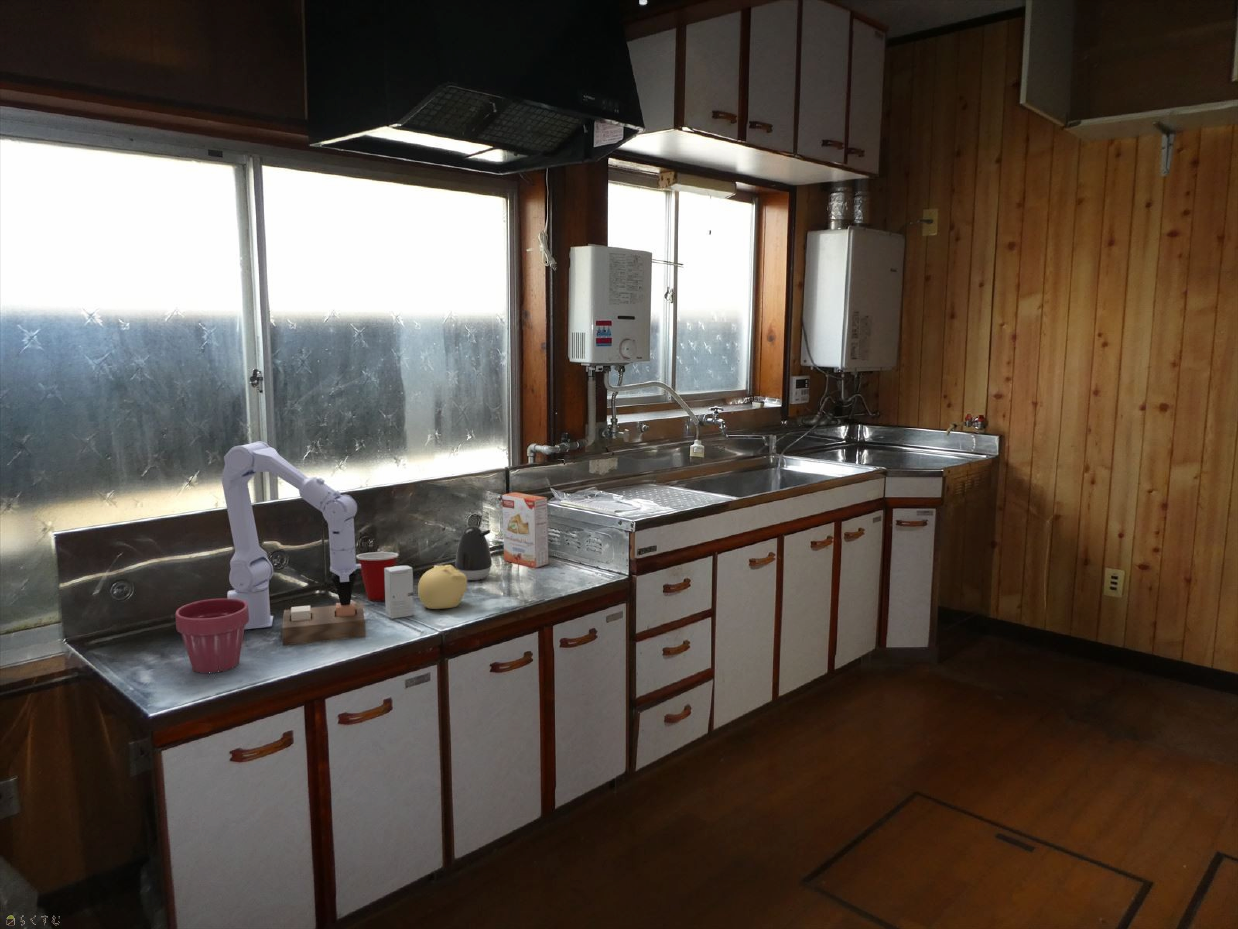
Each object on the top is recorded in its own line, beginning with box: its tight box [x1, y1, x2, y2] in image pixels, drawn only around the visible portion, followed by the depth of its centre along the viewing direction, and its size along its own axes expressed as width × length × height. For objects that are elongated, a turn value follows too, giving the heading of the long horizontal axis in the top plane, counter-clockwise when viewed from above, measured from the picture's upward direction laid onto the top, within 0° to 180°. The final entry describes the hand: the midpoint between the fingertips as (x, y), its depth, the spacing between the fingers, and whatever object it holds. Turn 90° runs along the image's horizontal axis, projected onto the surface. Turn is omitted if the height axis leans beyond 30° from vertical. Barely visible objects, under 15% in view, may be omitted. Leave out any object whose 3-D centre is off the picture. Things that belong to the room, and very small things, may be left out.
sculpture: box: [417, 564, 468, 610], centre depth 235 cm, size 11×12×11 cm
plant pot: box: [175, 598, 249, 674], centre depth 194 cm, size 14×14×13 cm
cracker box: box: [501, 492, 549, 569], centre depth 277 cm, size 14×6×21 cm, turn 50°
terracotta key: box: [335, 601, 356, 617], centre depth 217 cm, size 4×4×4 cm
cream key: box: [290, 605, 311, 621], centre depth 214 cm, size 4×4×4 cm
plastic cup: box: [355, 551, 399, 602], centre depth 242 cm, size 11×11×12 cm
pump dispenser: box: [455, 525, 493, 581], centre depth 261 cm, size 10×10×15 cm
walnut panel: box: [281, 602, 366, 646], centre depth 216 cm, size 18×14×4 cm
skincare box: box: [384, 564, 415, 620], centre depth 228 cm, size 6×4×12 cm
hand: (345, 604), depth 217 cm, fingers closed
